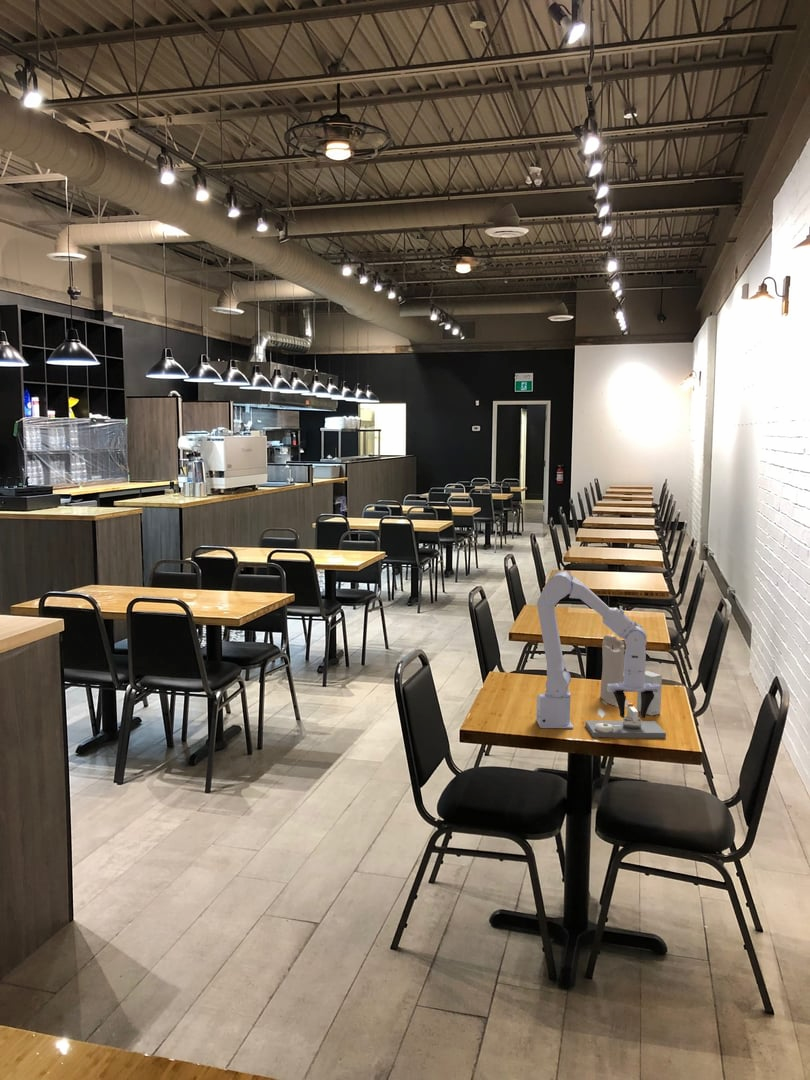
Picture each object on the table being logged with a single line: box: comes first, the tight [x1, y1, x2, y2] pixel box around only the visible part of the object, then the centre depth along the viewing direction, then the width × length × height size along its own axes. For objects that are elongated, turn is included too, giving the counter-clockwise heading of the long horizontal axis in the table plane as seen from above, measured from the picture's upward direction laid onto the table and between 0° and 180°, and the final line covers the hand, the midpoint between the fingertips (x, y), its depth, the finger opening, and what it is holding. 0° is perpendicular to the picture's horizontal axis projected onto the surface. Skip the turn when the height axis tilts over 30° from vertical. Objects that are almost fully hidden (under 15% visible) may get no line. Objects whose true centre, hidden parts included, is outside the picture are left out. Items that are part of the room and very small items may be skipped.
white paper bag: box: [599, 635, 630, 708], centre depth 266 cm, size 7×14×20 cm, turn 9°
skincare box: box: [636, 670, 663, 716], centre depth 256 cm, size 6×4×12 cm
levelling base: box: [584, 720, 667, 739], centre depth 238 cm, size 20×10×3 cm, turn 90°
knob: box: [622, 702, 643, 729], centre depth 238 cm, size 6×5×6 cm
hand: (632, 716), depth 238 cm, fingers open, 5 cm apart
